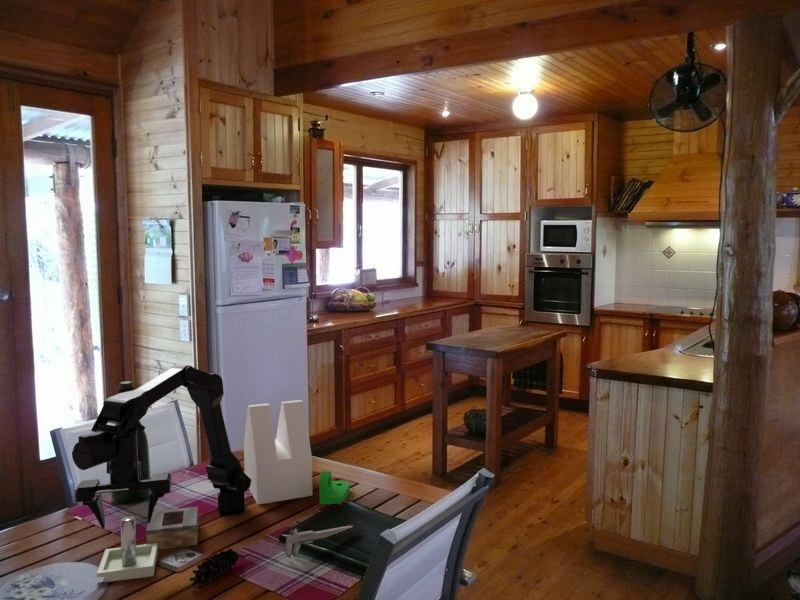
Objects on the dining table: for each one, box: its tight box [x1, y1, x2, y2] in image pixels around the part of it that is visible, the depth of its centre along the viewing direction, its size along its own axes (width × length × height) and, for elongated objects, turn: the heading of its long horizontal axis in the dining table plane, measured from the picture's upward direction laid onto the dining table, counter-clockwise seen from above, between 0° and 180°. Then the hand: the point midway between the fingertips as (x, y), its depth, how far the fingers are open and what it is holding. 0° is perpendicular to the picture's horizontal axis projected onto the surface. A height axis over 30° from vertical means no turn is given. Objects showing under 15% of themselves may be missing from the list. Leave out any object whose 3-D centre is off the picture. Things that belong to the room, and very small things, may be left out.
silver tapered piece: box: [120, 516, 137, 567], centre depth 141 cm, size 6×3×10 cm, turn 20°
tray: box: [96, 543, 159, 583], centre depth 141 cm, size 11×11×2 cm
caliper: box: [285, 524, 354, 559], centre depth 151 cm, size 20×1×6 cm, turn 134°
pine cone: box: [188, 547, 252, 589], centre depth 139 cm, size 18×5×5 cm
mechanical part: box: [318, 470, 351, 505], centre depth 181 cm, size 12×6×8 cm, turn 170°
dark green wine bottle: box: [109, 380, 152, 506], centre depth 178 cm, size 10×10×33 cm
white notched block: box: [243, 399, 313, 505], centre depth 186 cm, size 19×15×25 cm
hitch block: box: [145, 505, 199, 551], centre depth 155 cm, size 11×11×5 cm
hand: (126, 525), depth 140 cm, fingers open, 9 cm apart
